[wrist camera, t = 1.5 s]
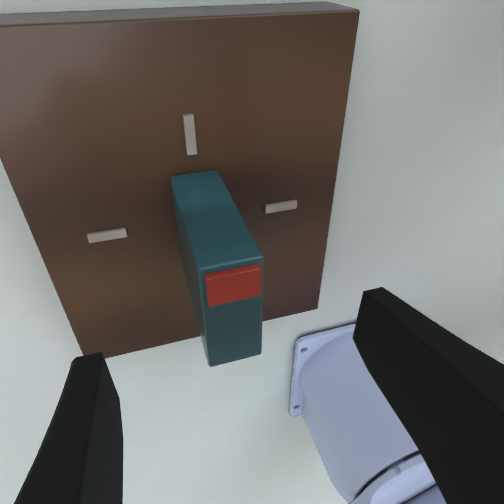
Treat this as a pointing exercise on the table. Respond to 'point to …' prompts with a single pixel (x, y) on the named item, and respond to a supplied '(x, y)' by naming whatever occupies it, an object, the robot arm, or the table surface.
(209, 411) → the table surface
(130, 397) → the table surface
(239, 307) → the teal slab
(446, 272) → the table surface
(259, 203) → the tick-marked wooden board
